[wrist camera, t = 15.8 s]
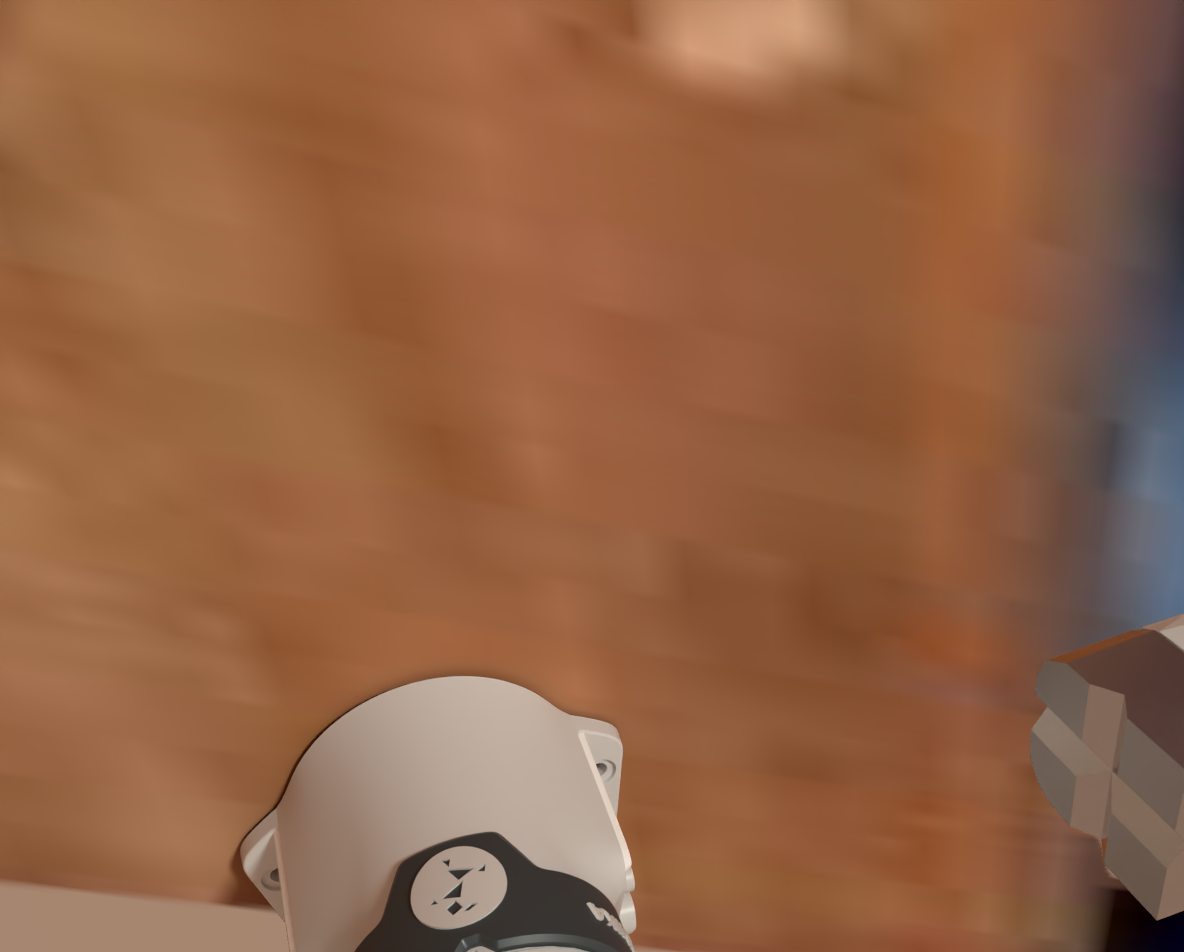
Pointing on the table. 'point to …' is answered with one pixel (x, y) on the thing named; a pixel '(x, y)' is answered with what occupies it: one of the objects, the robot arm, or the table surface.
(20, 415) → the table surface
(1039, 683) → the robot arm
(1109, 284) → the table surface
